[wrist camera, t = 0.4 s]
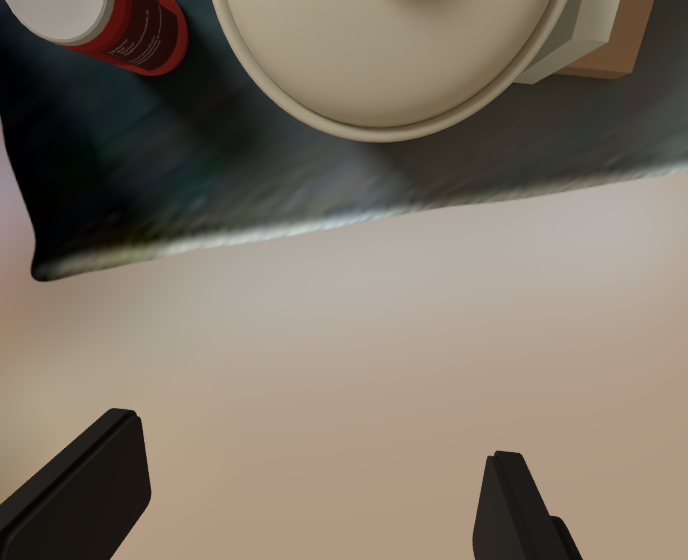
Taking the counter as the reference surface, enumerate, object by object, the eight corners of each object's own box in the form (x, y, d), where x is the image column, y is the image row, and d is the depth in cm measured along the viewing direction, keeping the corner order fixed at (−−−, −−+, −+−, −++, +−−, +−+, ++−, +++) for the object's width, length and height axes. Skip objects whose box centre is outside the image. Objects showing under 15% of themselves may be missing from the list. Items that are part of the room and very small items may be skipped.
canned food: (103, -14, 35) (-20, -91, 24) (186, -19, 34) (95, -101, 23) (118, 79, 37) (11, 45, 27) (196, 77, 36) (117, 41, 26)
